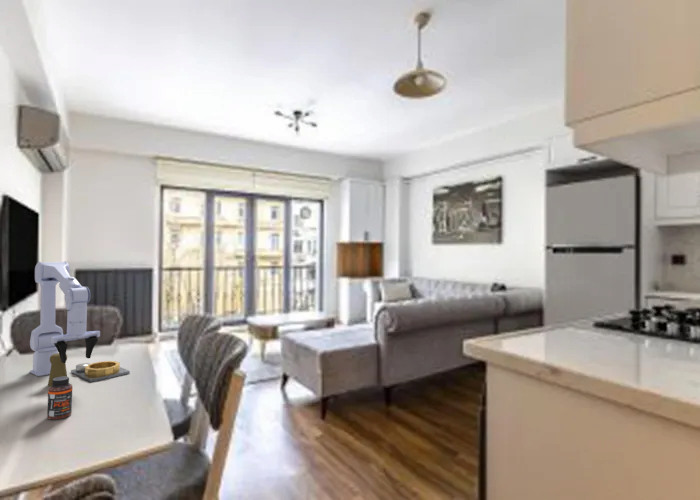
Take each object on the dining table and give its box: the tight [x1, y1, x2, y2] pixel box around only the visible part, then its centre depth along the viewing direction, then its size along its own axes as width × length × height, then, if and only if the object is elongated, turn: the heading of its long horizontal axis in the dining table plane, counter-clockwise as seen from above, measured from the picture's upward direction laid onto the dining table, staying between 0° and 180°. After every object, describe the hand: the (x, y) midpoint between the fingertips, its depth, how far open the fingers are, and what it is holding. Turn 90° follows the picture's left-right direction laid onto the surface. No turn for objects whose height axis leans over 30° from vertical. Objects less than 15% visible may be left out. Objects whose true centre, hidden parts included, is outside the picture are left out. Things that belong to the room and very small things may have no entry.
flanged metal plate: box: [70, 360, 131, 383], centre depth 160 cm, size 18×14×4 cm
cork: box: [47, 352, 68, 387], centre depth 147 cm, size 6×6×11 cm
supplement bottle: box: [46, 376, 73, 420], centre depth 120 cm, size 6×6×11 cm
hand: (76, 360), depth 143 cm, fingers open, 7 cm apart
